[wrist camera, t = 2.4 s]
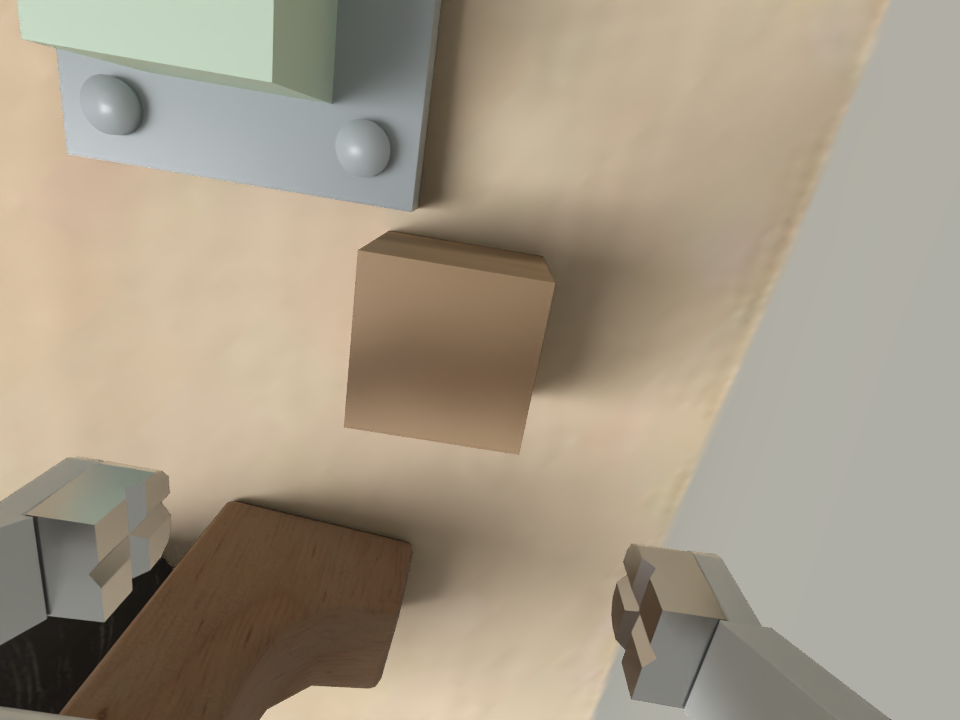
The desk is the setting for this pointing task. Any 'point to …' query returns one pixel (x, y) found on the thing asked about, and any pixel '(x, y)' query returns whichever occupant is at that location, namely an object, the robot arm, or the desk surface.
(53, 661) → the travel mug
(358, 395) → the walnut brick
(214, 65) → the green brick
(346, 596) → the wooden block
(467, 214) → the desk surface
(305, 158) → the base plate
